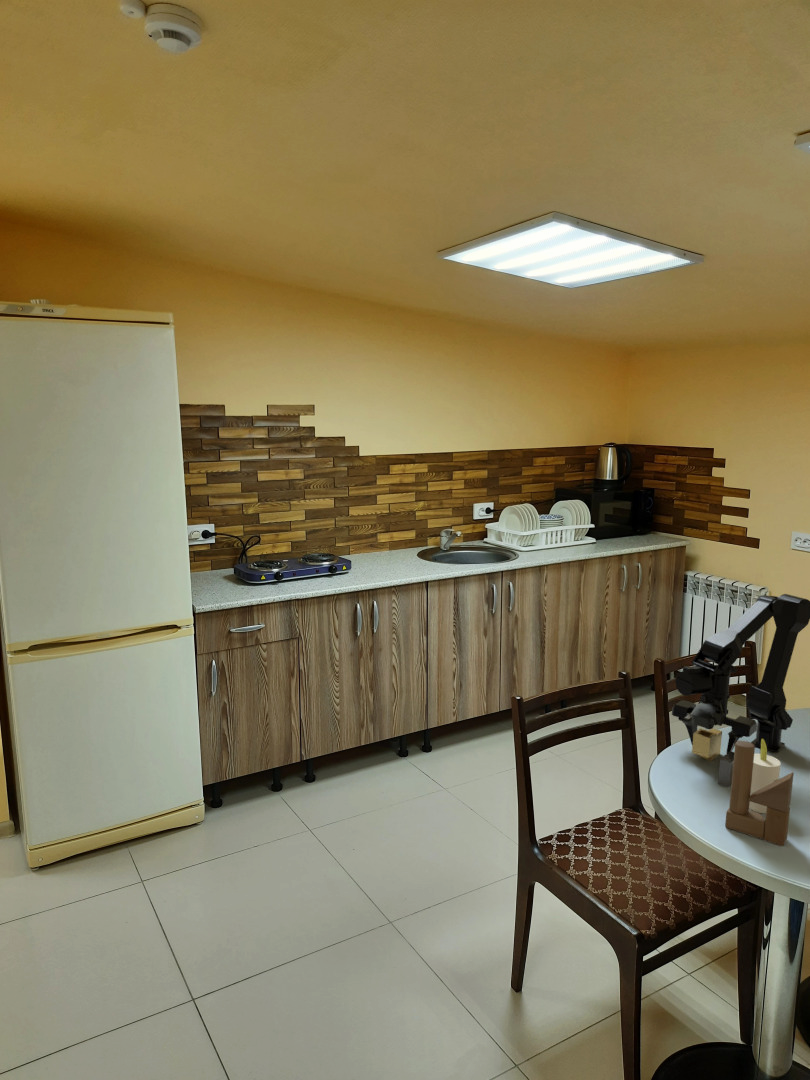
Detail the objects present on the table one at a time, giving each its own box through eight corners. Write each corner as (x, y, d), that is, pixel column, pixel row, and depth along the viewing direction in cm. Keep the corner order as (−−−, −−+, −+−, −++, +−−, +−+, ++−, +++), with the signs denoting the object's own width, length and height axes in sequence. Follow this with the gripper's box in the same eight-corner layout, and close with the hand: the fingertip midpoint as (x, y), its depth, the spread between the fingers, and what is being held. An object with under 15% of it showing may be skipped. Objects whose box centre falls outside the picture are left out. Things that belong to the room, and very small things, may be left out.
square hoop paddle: (707, 749, 182) (709, 721, 181) (723, 754, 179) (725, 726, 178) (691, 762, 175) (693, 733, 173) (707, 767, 172) (710, 738, 171)
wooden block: (783, 847, 139) (792, 760, 136) (724, 828, 146) (732, 744, 143) (787, 839, 142) (796, 753, 139) (729, 820, 148) (736, 738, 146)
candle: (765, 816, 150) (772, 749, 148) (737, 802, 156) (743, 737, 153) (783, 809, 153) (789, 743, 151) (754, 795, 159) (761, 731, 156)
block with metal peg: (731, 767, 172) (733, 738, 171) (748, 773, 169) (751, 743, 168) (714, 782, 164) (717, 751, 163) (732, 788, 162) (735, 757, 161)
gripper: (664, 688, 176) (659, 748, 178) (743, 709, 163) (737, 774, 165) (683, 677, 184) (678, 735, 186) (760, 697, 171) (754, 758, 173)
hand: (710, 750), depth 178 cm, fingers open, 8 cm apart
